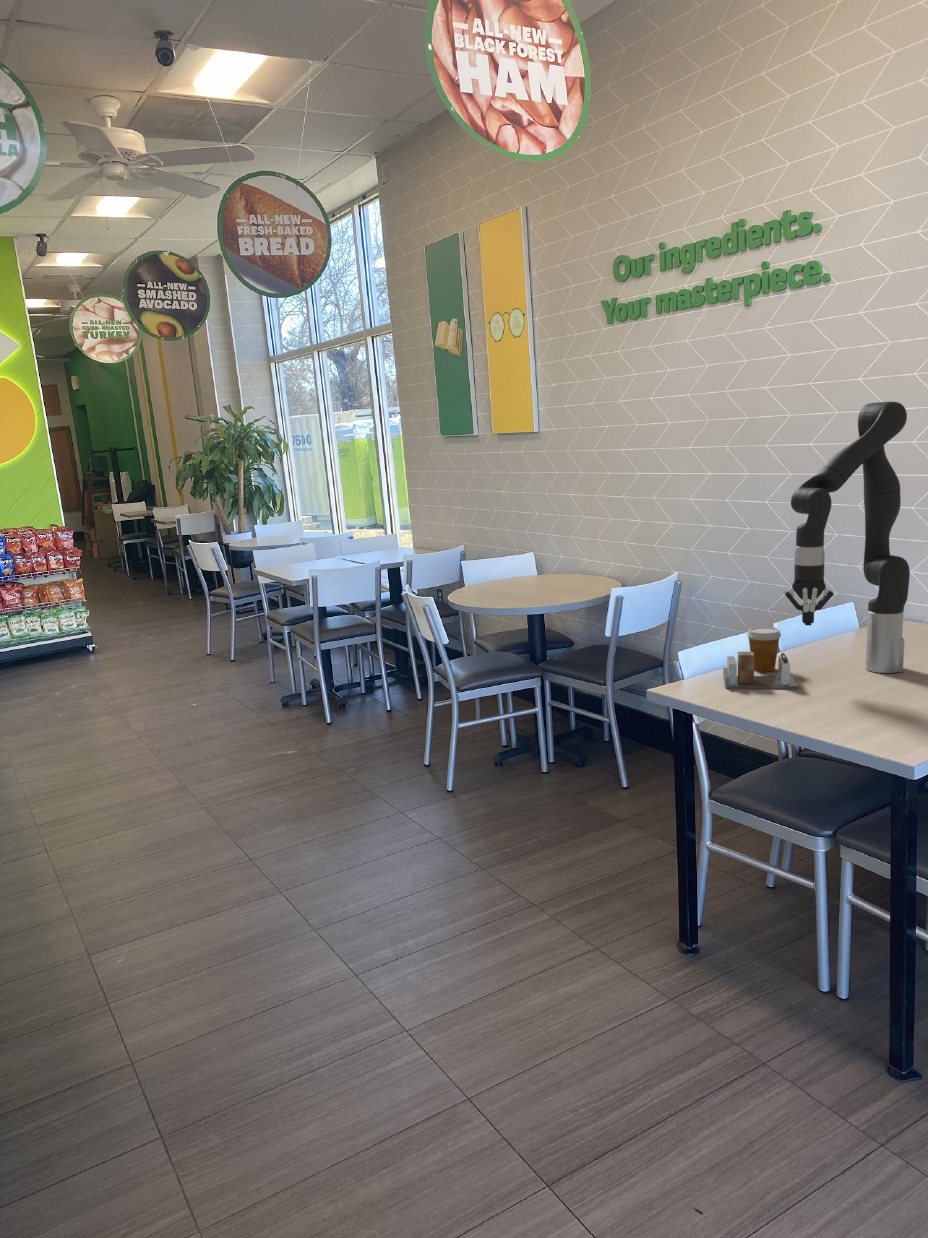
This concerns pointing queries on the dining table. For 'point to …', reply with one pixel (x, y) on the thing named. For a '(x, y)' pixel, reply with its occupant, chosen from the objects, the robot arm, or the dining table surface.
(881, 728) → the dining table surface
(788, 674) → the block
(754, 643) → the disposable coffee cup
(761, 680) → the vise bed
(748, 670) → the walnut block
